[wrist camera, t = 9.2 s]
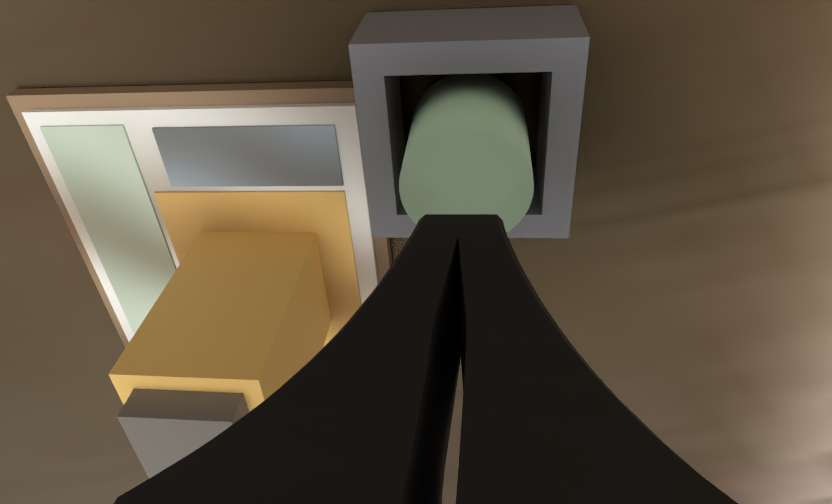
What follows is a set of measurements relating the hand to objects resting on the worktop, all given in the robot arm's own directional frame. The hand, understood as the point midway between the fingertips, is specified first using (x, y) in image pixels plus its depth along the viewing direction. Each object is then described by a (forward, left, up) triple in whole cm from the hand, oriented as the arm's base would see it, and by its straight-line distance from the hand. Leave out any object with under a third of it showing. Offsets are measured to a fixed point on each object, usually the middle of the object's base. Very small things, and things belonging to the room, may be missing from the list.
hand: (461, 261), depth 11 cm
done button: (0, 0, -5) cm, 5 cm away
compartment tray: (-4, +7, -7) cm, 11 cm away
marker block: (-5, +6, -6) cm, 10 cm away
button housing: (0, 0, -7) cm, 7 cm away
